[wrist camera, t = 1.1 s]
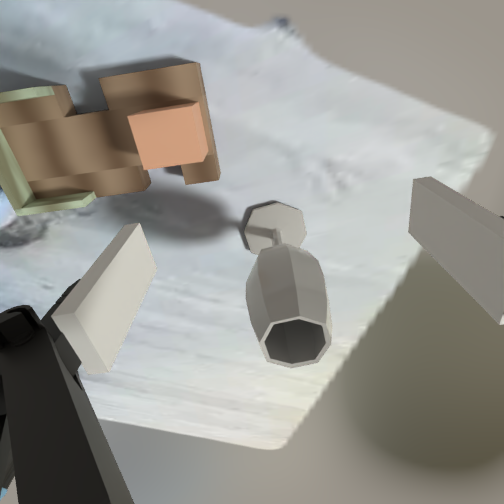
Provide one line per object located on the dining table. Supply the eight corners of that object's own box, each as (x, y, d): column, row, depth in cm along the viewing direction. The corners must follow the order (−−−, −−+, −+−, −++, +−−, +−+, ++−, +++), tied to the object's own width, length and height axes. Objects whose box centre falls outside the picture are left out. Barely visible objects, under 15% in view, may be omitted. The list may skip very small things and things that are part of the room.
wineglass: (302, 258, 46) (338, 380, 28) (242, 256, 46) (240, 378, 27) (310, 202, 42) (360, 302, 23) (244, 199, 41) (243, 299, 23)
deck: (46, 197, 41) (17, 216, 36) (-3, 96, 35) (-47, 100, 30) (220, 173, 39) (216, 188, 34) (199, 63, 34) (191, 61, 28)
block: (156, 158, 35) (144, 170, 31) (142, 110, 33) (127, 116, 29) (208, 150, 35) (203, 161, 31) (198, 101, 33) (191, 106, 28)
